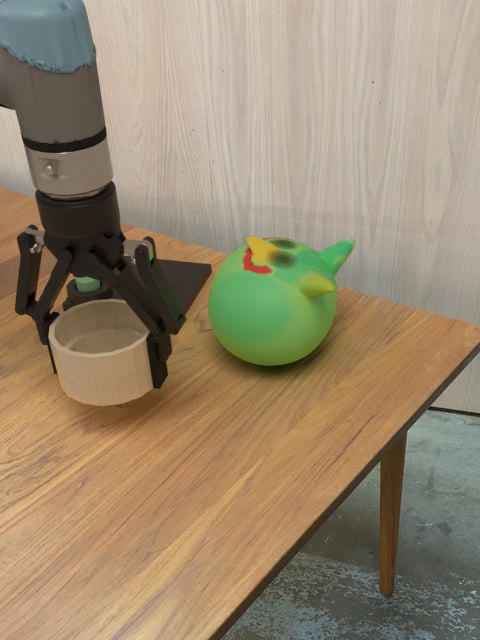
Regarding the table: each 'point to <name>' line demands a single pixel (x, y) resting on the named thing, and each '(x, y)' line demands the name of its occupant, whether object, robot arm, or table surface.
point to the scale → (179, 274)
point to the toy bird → (275, 298)
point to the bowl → (101, 353)
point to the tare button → (87, 284)
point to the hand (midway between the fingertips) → (111, 374)
